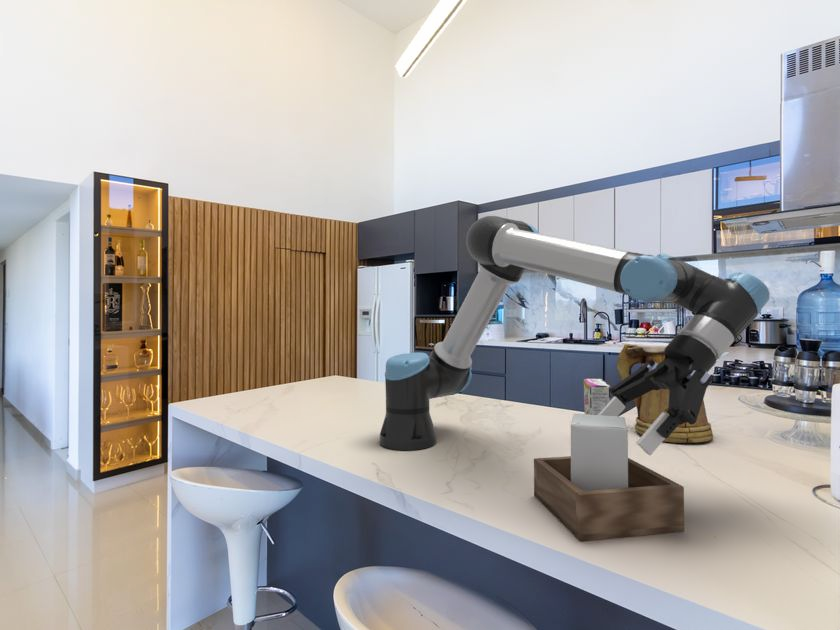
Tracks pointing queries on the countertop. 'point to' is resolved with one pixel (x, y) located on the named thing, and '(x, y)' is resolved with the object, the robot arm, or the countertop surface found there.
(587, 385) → the candy bar box
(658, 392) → the tankard
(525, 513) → the countertop surface
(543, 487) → the crate
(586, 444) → the supplement box
